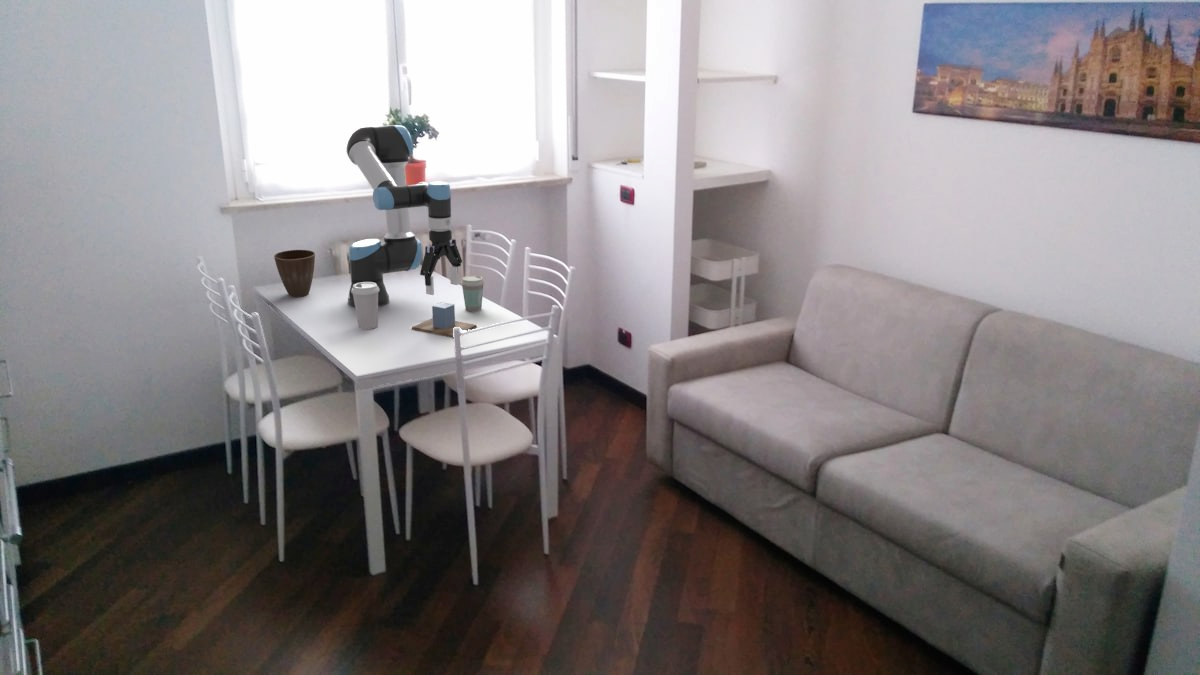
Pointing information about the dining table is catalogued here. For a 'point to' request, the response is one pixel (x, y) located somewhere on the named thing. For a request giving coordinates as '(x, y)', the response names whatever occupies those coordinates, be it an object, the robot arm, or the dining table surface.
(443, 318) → the slate blue box
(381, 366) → the dining table surface
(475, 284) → the coffee cup
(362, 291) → the coffee cup
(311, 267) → the plant pot
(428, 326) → the post board
